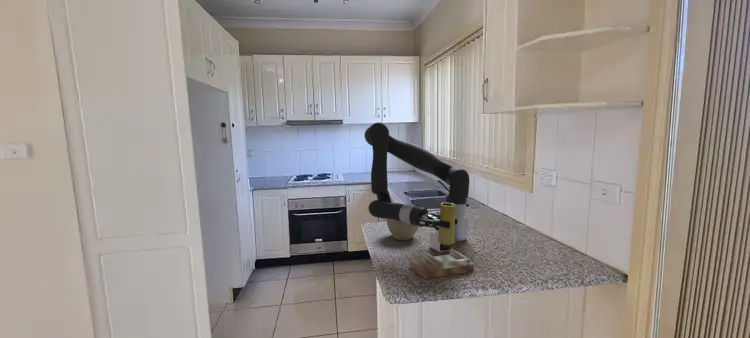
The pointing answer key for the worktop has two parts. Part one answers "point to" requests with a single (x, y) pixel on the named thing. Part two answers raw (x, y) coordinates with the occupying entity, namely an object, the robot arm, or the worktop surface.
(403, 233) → the planter bowl
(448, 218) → the vase
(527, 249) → the worktop surface
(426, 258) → the dock
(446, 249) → the medicine bottle
